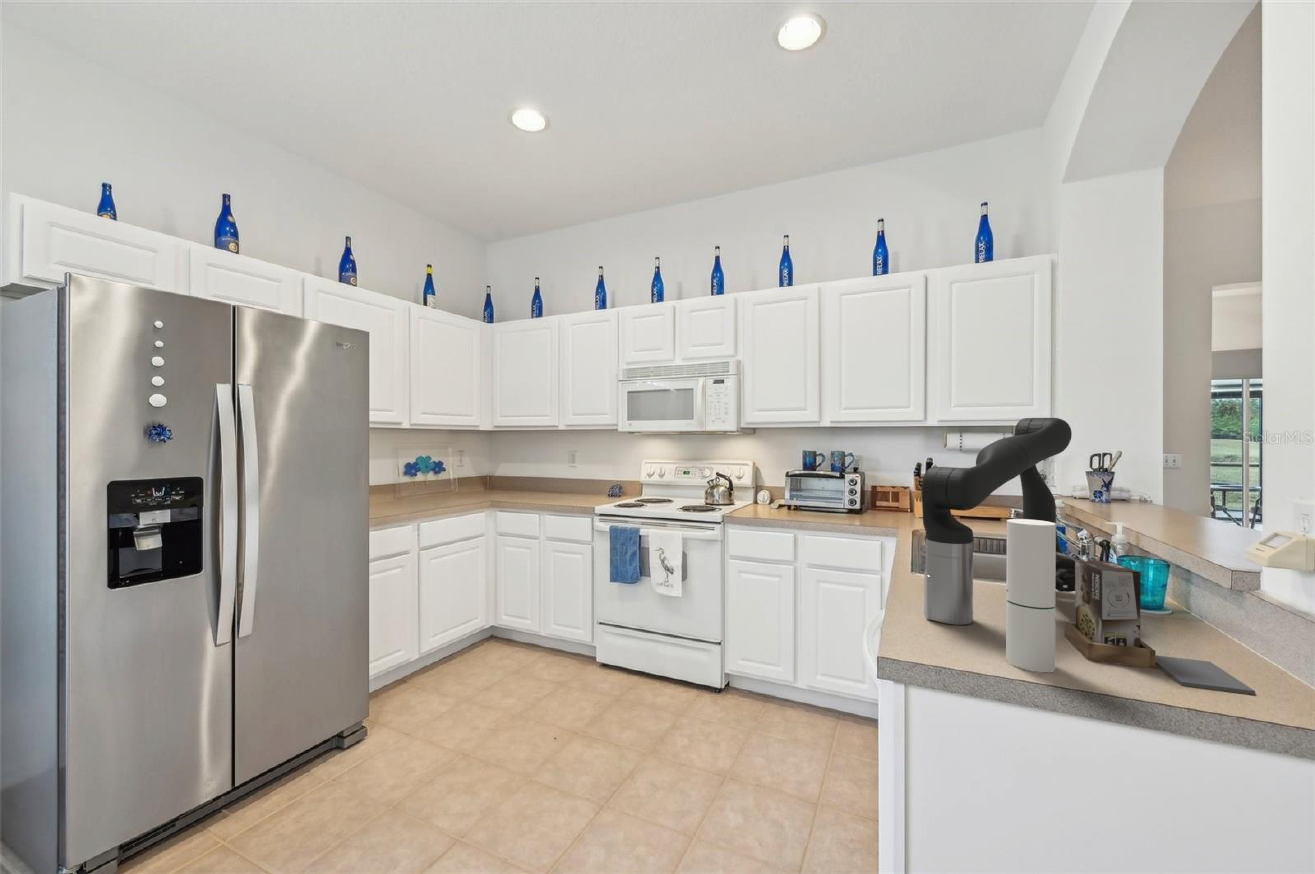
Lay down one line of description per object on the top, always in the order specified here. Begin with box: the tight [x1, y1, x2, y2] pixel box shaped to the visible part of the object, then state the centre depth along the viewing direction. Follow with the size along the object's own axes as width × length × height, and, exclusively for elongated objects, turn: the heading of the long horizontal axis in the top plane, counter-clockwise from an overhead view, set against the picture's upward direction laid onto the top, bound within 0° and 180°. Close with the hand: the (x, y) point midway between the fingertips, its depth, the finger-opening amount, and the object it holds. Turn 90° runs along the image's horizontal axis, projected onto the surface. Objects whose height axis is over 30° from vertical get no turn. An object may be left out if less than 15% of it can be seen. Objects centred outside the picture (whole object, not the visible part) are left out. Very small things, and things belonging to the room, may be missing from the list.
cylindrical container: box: [1005, 518, 1057, 673], centre depth 97 cm, size 7×7×25 cm
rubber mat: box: [1155, 654, 1256, 696], centre depth 92 cm, size 9×12×1 cm
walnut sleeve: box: [1063, 620, 1157, 669], centre depth 102 cm, size 10×13×3 cm
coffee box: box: [1074, 560, 1142, 648], centre depth 102 cm, size 9×6×16 cm
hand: (1086, 588), depth 112 cm, fingers open, 8 cm apart
